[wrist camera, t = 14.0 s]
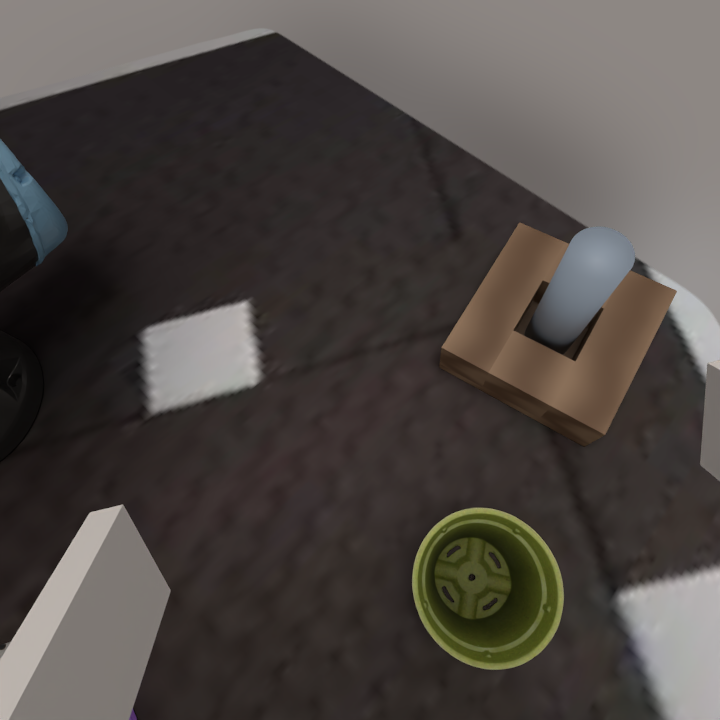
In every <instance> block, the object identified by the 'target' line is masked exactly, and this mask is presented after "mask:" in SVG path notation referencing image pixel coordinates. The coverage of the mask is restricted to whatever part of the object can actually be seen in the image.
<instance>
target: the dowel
mask: <svg viewBox="0 0 720 720" xmlns="http://www.w3.org/2000/svg"><path fill="white" fill-rule="evenodd" d="M634 261H635V252H634V249H633V246H632V244H631V242H630V241H629V240H628V239H627V238H626V237H625V236H624V235H623V234H621V233H620V232H618V231H616V230H614V229H611V228H607V227H591V228H587V229H584V230H582V231H580V232H579V233H577V234H576V235H575V236H574V237H573V239H572V240H571V242H570V244H569V246H568V248H567V250H566V252H565V254H564V256H563V258H562V260H561V262H560V264H559V266H558V268H557V270H556V271H555V273H554V275H553V277H552V279H551V281H550V283H549V285H548V287H547V289H546V291H545V293H544V295H543V297H542V299H541V301H540V303H539V305H538V307H537V309H536V311H535V313H534V315H533V316H532V318H531V320H530V322H529V324H528V326H527V328H526V330H525V334H524V336H526V337H528V338H530V339H532V340H534V341H536V342H538V343H540V344H542V345H544V346H546V347H548V348H550V349H552V350H554V351H556V352H558V353H560V354H562V355H563V354H564V353H566V351H567V350H568V349H569V348H570V346H571V345H572V344H573V342H574V341H575V340H576V339H577V337H578V336H579V335H580V334H581V332H582V331H583V330H584V328H585V327H586V326H587V325H588V323H589V322H590V321H591V319H592V318H593V317H594V316H595V314H596V313H597V312H598V311H599V309H600V308H601V307H602V305H603V304H604V303H605V302H606V300H607V299H608V298H609V296H610V295H611V294H612V293H613V291H614V290H615V289H616V288H617V286H618V285H619V284H620V282H621V281H622V280H623V279H624V277H625V276H626V275H627V273H628V272H629V271H630V270H631V268H632V266H633V264H634Z"/></svg>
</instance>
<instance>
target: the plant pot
mask: <svg viewBox="0 0 720 720" xmlns="http://www.w3.org/2000/svg"><path fill="white" fill-rule="evenodd" d="M455 546H460V547H461V548H460V549H459V550H457V551H456V552H454V553H453V554H451V556H449V557H447V553H448V552H449V551H450V550H451V549H452V548H453V547H455ZM489 552H492V553H493V554H495V556H496V557H497V559H498V560H499V562H500V565H501V568H497V566H496V564H495V562H494V560H493V559H492V558H491V557H490V556H489ZM470 574H474V575H475V580H473V581H471V580H469V575H470ZM443 586H445V587H446V588H447V590H448V592H449V594H450V596H451V597H452V599H453V600H454V603H453V602H451V601H450V600H449V599H448V598H447V597H446V596H445V594H444V593H443V591H442V590H443V589H442V587H443ZM412 590H413V596H414V601H415V605H416V608H417V611H418V613H419V616H420V618H421V620H422V622H423V624H424V626H425V628H426V629H427V631H428V632H429V634H430V635H431V636H432V638H433V639H434V640H435V641H436V642H437V644H438V645H439V646H440V647H442V648H443V649H444V650H445V651H446V652H448V653H449V654H450V655H452V656H453V657H455V658H456V659H458V660H460V661H462V662H464V663H466V664H468V665H471V666H474V667H478V668H483V669H489V670H501V669H508V668H513V667H516V666H519V665H522V664H524V663H526V662H528V661H529V660H531V659H533V658H534V657H535V656H536V655H538V654H539V653H540V652H541V651H542V650H543V649H544V648H545V647H546V646H547V645H548V643H549V642H550V640H551V639H552V638H553V636H554V634H555V632H556V630H557V628H558V626H559V623H560V619H561V615H562V610H563V602H564V591H563V582H562V577H561V573H560V570H559V567H558V564H557V562H556V560H555V558H554V556H553V554H552V552H551V550H550V549H549V547H548V546H547V545H546V543H545V542H544V541H543V539H542V538H541V537H540V536H539V535H538V534H537V533H536V532H535V531H534V530H533V529H532V528H531V527H530V526H528V525H527V524H526V523H524V522H523V521H521V520H520V519H518V518H516V517H514V516H512V515H510V514H508V513H505V512H502V511H499V510H495V509H490V508H470V509H464V510H461V511H458V512H455V513H453V514H451V515H449V516H447V517H445V518H444V519H442V520H441V521H440V522H438V523H437V524H436V525H435V526H434V527H433V528H432V529H431V530H430V531H429V533H428V534H427V535H426V537H425V538H424V540H423V542H422V543H421V545H420V547H419V550H418V552H417V555H416V558H415V562H414V567H413V574H412ZM494 598H497V603H495V604H494V605H493V606H492V607H491V608H490V609H488V610H483V606H485V605H486V604H488V603H490V602H491V601H492V600H493V599H494Z"/></svg>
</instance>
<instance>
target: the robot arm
mask: <svg viewBox="0 0 720 720" xmlns="http://www.w3.org/2000/svg"><path fill="white" fill-rule="evenodd" d="M67 230H68V229H67V223H66V220H65V218H64V216H63V215H62V213H61V212H60V211H59V209H58V208H57V207H56V205H55V204H54V203H53V201H52V200H51V199H50V198H49V197H48V195H47V194H46V193H45V192H44V190H43V189H42V188H41V187H40V186H39V184H38V183H37V182H36V181H35V180H34V178H33V177H32V176H31V175H30V174H29V173H28V172H27V171H26V170H25V168H24V167H23V166H22V164H21V163H20V162H19V161H18V160H17V158H16V157H15V156H14V154H13V153H12V152H11V151H10V150H9V149H8V147H7V146H6V145H5V144H4V143H3V141H2V140H1V139H0V291H1V290H3V289H4V288H6V287H7V286H8V285H10V284H11V283H12V282H14V281H15V280H17V279H18V278H19V277H21V276H22V275H23V274H25V273H26V272H27V271H29V270H30V269H32V268H33V267H34V266H38V265H39V264H41V263H42V262H43V260H44V257H45V256H46V255H48V254H49V253H50V252H51V251H52V250H53V249H55V248H56V247H57V246H58V245H59V244H60V243H62V242H63V240H64V239H65V237H66V235H67ZM42 393H43V375H42V370H41V366H40V363H39V361H38V359H37V357H36V355H35V354H34V352H33V351H32V350H31V349H30V348H29V347H28V346H27V345H26V344H25V343H23V342H22V341H20V340H18V339H17V338H15V337H13V336H11V335H9V334H7V333H5V332H3V331H0V461H1V460H2V459H4V458H5V457H6V456H7V455H8V454H9V453H10V452H12V450H13V449H14V448H15V447H16V446H17V445H18V444H19V443H20V442H21V440H22V439H23V438H24V436H25V435H26V434H27V432H28V431H29V429H30V427H31V425H32V424H33V422H34V420H35V417H36V415H37V413H38V410H39V407H40V403H41V399H42ZM700 465H701V466H702V467H704V468H705V469H706V470H707V471H708V472H709V473H711V474H712V475H713V476H714V477H715V478H717V479H718V480H719V481H720V360H718V361H714V362H710V363H708V364H707V378H706V392H705V405H704V419H703V433H702V447H701V460H700ZM170 591H171V590H170V588H169V587H168V585H167V583H166V581H165V579H164V578H163V576H162V574H161V572H160V570H159V569H158V567H157V565H156V563H155V561H154V559H153V558H152V556H151V554H150V552H149V550H148V549H147V547H146V545H145V543H144V541H143V540H142V538H141V536H140V534H139V532H138V531H137V529H136V527H135V525H134V523H133V522H132V520H131V518H130V516H129V514H128V512H127V511H126V509H125V507H124V505H119V506H115V507H111V508H106V509H102V510H98V511H94V512H90V513H89V515H88V516H87V518H86V520H85V521H84V523H83V525H82V526H81V528H80V529H79V531H78V533H77V534H76V536H75V538H74V539H73V541H72V543H71V544H70V546H69V547H68V549H67V551H66V552H65V554H64V556H63V557H62V559H61V561H60V562H59V564H58V566H57V567H56V569H55V570H54V572H53V574H52V575H51V577H50V579H49V580H48V582H47V584H46V585H45V587H44V588H43V590H42V592H41V593H40V595H39V597H38V598H37V600H36V602H35V603H34V605H33V607H32V608H31V610H30V611H29V613H28V615H27V616H26V618H25V620H24V621H23V623H22V625H21V626H20V628H19V630H18V631H17V633H16V634H15V636H14V638H13V639H12V641H11V643H10V644H9V646H8V648H7V649H6V651H5V652H4V654H3V656H2V657H1V659H0V720H129V718H130V715H131V712H132V709H133V706H134V703H135V700H136V697H137V694H138V690H139V687H140V684H141V681H142V678H143V675H144V672H145V669H146V666H147V663H148V660H149V656H150V653H151V650H152V647H153V644H154V641H155V638H156V635H157V632H158V629H159V626H160V622H161V619H162V616H163V613H164V610H165V607H166V604H167V601H168V598H169V595H170Z"/></svg>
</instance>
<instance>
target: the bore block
mask: <svg viewBox="0 0 720 720" xmlns="http://www.w3.org/2000/svg"><path fill="white" fill-rule="evenodd" d="M568 246H569V244H568V243H565V242H563V241H561V240H559V239H556V238H554V237H552V236H549V235H547V234H545V233H542V232H540V231H538V230H536V229H533V228H531V227H529V226H526V225H524V224H522V223H519V224H518V226H517V227H516V229H515V231H514V232H513V234H512V235H511V237H510V239H509V240H508V242H507V244H506V245H505V247H504V248H503V250H502V252H501V253H500V255H499V256H498V258H497V260H496V261H495V263H494V264H493V266H492V268H491V269H490V271H489V272H488V274H487V276H486V277H485V279H484V280H483V282H482V284H481V285H480V287H479V288H478V290H477V292H476V293H475V295H474V296H473V298H472V300H471V301H470V303H469V305H468V306H467V308H466V309H465V311H464V313H463V314H462V316H461V317H460V319H459V321H458V322H457V324H456V325H455V327H454V329H453V330H452V332H451V333H450V335H449V337H448V338H447V340H446V341H445V343H444V345H443V346H442V349H441V357H440V365H439V368H441V369H443V370H445V371H447V372H448V373H450V374H452V375H454V376H456V377H458V378H459V379H461V380H463V381H465V382H467V383H468V384H470V385H472V386H474V387H476V388H478V389H479V390H481V391H483V392H485V393H487V394H489V395H490V396H492V397H494V398H496V399H498V400H500V401H501V402H503V403H505V404H507V405H509V406H510V407H512V408H514V409H516V410H518V411H520V412H521V413H523V414H525V415H527V416H529V417H531V418H532V419H534V420H536V421H538V422H540V423H542V424H543V425H545V426H547V427H549V428H551V429H552V430H554V431H556V432H558V433H560V434H562V435H563V436H565V437H567V438H569V439H571V440H573V441H574V442H576V443H578V444H580V445H582V446H584V447H585V446H587V445H588V444H590V443H592V442H594V441H595V440H597V439H599V438H600V437H602V436H604V435H605V434H606V432H607V430H608V428H609V426H610V424H611V422H612V420H613V418H614V416H615V414H616V412H617V410H618V408H619V406H620V404H621V402H622V400H623V398H624V396H625V394H626V392H627V390H628V388H629V386H630V384H631V382H632V380H633V378H634V376H635V374H636V372H637V370H638V368H639V366H640V364H641V362H642V360H643V358H644V356H645V354H646V352H647V350H648V348H649V346H650V344H651V342H652V340H653V338H654V336H655V334H656V332H657V330H658V328H659V326H660V324H661V322H662V320H663V318H664V316H665V314H666V312H667V310H668V308H669V306H670V304H671V302H672V300H673V298H674V296H675V294H676V292H677V291H676V290H674V289H671V288H669V287H667V286H664V285H662V284H660V283H657V282H655V281H653V280H651V279H648V278H646V277H644V276H641V275H639V274H637V273H634V272H632V271H629V272H628V273H627V275H626V276H625V277H624V279H623V280H622V281H621V282H620V284H619V285H618V286H617V288H616V289H615V290H614V291H613V293H612V294H611V295H610V296H609V298H608V299H607V300H606V302H605V303H604V304H603V305H602V307H601V308H600V309H599V311H598V312H597V313H596V314H595V316H594V317H593V318H592V319H591V321H590V322H589V323H588V325H587V326H586V327H585V328H584V330H583V331H582V332H581V334H580V335H579V336H578V337H577V339H576V340H575V341H574V342H573V344H572V345H571V346H570V348H569V349H568V350H567V351H566V353H564V354H563V355H562V354H560V353H558V352H556V351H554V350H552V349H550V348H548V347H546V346H544V345H542V344H540V343H538V342H536V341H534V340H532V339H530V338H528V337H526V336H524V334H525V330H526V328H527V326H528V324H529V322H530V320H531V318H532V316H533V315H534V313H535V311H536V309H537V307H538V305H539V303H540V301H541V299H542V297H543V295H544V293H545V291H546V289H547V287H548V285H549V283H550V281H551V279H552V277H553V275H554V273H555V271H556V270H557V268H558V266H559V264H560V262H561V260H562V258H563V256H564V254H565V252H566V250H567V248H568Z"/></svg>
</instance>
